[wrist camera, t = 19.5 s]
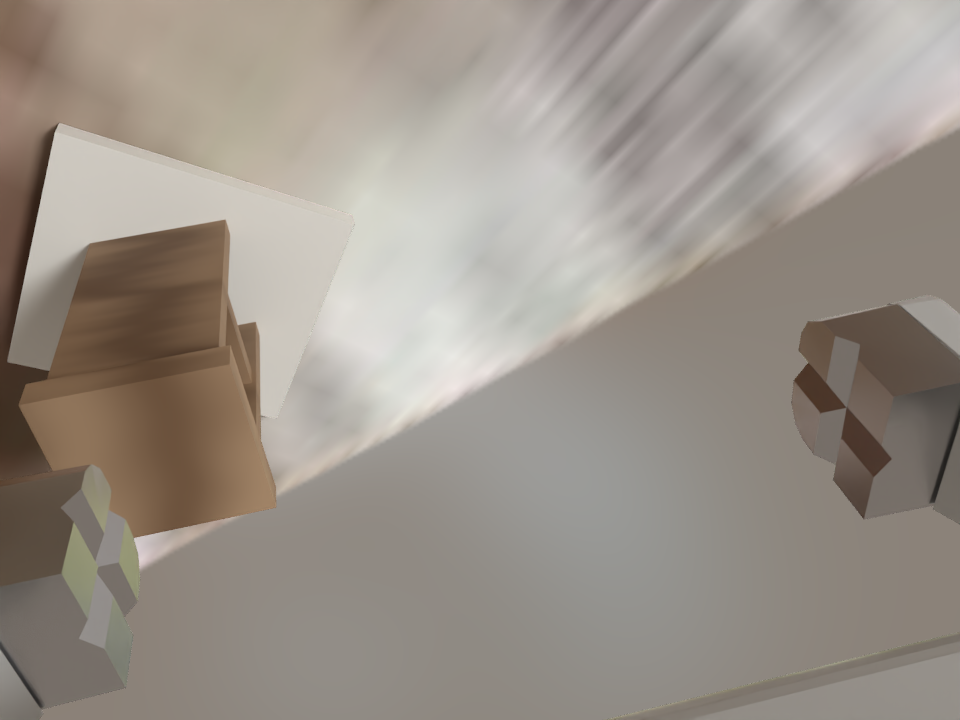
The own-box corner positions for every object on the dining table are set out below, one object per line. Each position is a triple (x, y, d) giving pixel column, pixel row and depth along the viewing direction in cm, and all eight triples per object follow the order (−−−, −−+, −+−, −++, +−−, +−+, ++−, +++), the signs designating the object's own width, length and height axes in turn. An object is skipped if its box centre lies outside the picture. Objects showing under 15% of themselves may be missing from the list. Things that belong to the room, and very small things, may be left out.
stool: (127, 365, 43) (91, 546, 34) (75, 239, 39) (18, 405, 30) (271, 338, 44) (276, 507, 34) (235, 211, 40) (229, 364, 30)
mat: (11, 350, 43) (7, 362, 42) (59, 122, 37) (55, 131, 36) (276, 407, 48) (276, 418, 47) (352, 214, 42) (354, 224, 41)
